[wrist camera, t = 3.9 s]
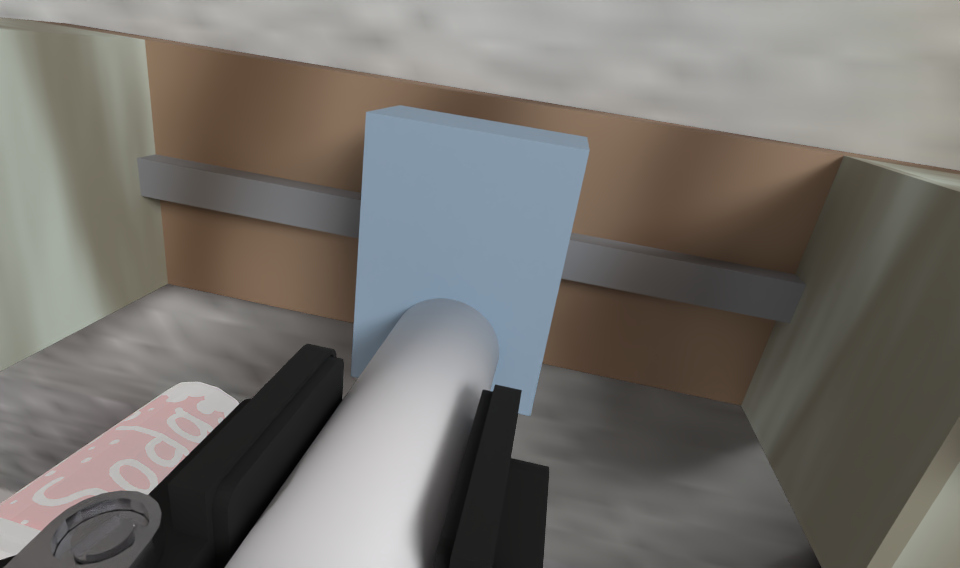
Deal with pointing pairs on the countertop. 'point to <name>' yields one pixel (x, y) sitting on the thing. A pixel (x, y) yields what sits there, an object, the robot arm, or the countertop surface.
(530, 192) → the carriage
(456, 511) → the robot arm
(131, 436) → the beverage cup
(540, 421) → the countertop surface
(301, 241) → the rail stand
